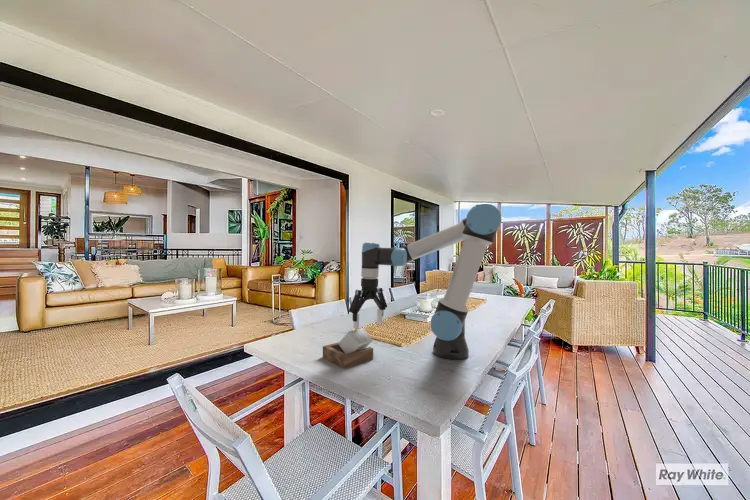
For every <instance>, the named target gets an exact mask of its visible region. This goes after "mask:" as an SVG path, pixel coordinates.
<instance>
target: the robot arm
mask: <svg viewBox="0 0 750 500" xmlns="http://www.w3.org/2000/svg"><path fill="white" fill-rule="evenodd" d="M501 222H502V214H501V211H500V210H499V209H498V208H497V207H496V206H495V205H493V204H492V203H488V202H482V203H481V202H480V203H478V204H475V205H474V206H472V207H471V208H470V209H469V211H468V213H467V214H466V217H465V218H462V219H461V220H460V223H457V224H454V225H451V226H450V227H447V228H445V229H443V230H439V231H437V232H435V233H433V234H430V235H427V236H425V237H423V238H420V239H418V240H416V241H413V242H411V243H409V244H406V245H403V246H401V247H381V246H380V243H379V242H363V244H362V248H361V273H360V276H361V279H360V286H361V289H355V291H354V296H353V299H352V301H351V303H350V306H349V308H348V312H349V313H352V321H353V329H354V330H358V329H360V313H359V312H360V310H361V308H362V307H363V305H364V303H366V301H368V300H373V301H374V303H375V304H376V306H377V312H376V313H377V314H376V315H377V317H376V324H379V325H383V317H384V311H385V310H386V308H388V303H387V301H386V298H385V295H384V292H383V291H384V290H383V288H382V287H379V279H378V278H379V270H380V269H379V268H380V267H379V266H391V267H392V266H394V267H403V266H405V265H406V264H407V263H409V262H412V261H415V260H417V259H419V258H422V257H425V256H426V255H429V254H432V253H435V252H437V251H439V250H443V249H445V248H448V247H449V246H453V245H456V244H457V243H460V242H462V241H463V243H462V245H461V249H460V251H459V254H458V257H457V259H456V263H455V266H454V268H453V271H452V275H451V277H450V280H449V282H448V286H447V289H446V291H445V294H444V297H442V298H440V299H439V300H438V301H437V305H436V308H435V310H434V313H433V315H432V316H431V318H430V329H431V331H432V334H433V335H434V336H435V337H436V338H435V339H434V343H433V344H432V345H433V346H432V352H433V354H434V355H436V356H438V357H440V358H443V359H444V358H445V359H448V360H449V359H450V360H462V359H466V358H468V357H469V356H470V355H469V346H468V343H467V340H466V336H465V335H466V333H465V332H466V331H465V330H466V318H467V315H468V313H469V309H468V307H467V303H468V300H469V298H470V295H471V292H472V289H473V287H474V284H475V281H476V278H477V275H478V272H479V270H480V267H481V264H482V261H483V259H484V255H485V253H486V250H487V248H488V247H489V246H491V245H492V244H493V243H494V240H495V238H496V235H497V232H498V230H499V227H500V226H501ZM467 356H468V357H467Z"/></svg>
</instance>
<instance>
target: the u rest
mask: <svg viewBox="0 0 750 500" xmlns="http://www.w3.org/2000/svg"><path fill="white" fill-rule="evenodd" d="M339 342H340V341H337V342H335V343H331V344H326V345H323V346H322V358H324V359H326V360H327V361H329V362H331V363H333V364H334V365H337V366H339V367H341V368H343V369H345V370H346V368H347V369H348V368H350V367H353V366H356V365H359V364H363V363H366V362H368V361H372V360H374V347H371V346H367V347H366V348H365V349H361V350H358V351H354V352H351V353H347V354H345V352H344V351H343V350H342V348H341V347H340V346H339V344H338V343H339Z"/></svg>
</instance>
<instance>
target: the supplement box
mask: <svg viewBox="0 0 750 500" xmlns="http://www.w3.org/2000/svg"><path fill="white" fill-rule="evenodd" d="M373 341H374V339H372V337H371V336H370V335H369V333H368V331H366V330H365V327H364V328H363V327H362V328H359V329H358V330H357V329H354V330H351V331H348V332H347V333H346V335H344V336H343V337H342V338H341V340H340V341H338V342H339V343H338V342H337V343H338V344H339V346H340V347H341V348H342V350H343V351H344V352H345V354H347V353H351V352H354V351H358V350H361V349H365V348H368V347H369V345H370V344H371V343H373Z"/></svg>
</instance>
